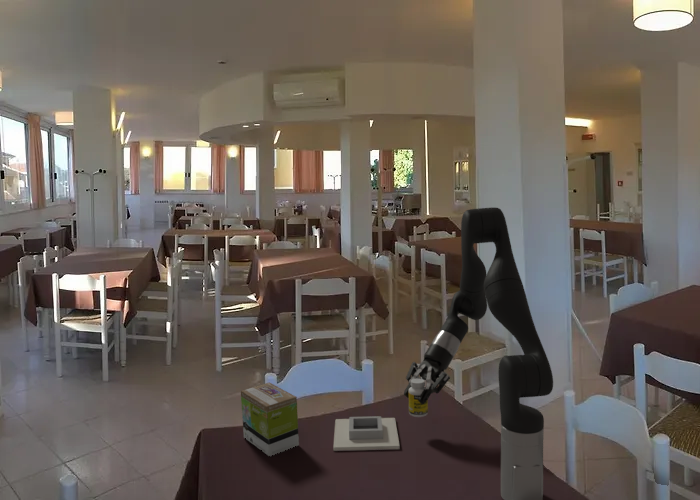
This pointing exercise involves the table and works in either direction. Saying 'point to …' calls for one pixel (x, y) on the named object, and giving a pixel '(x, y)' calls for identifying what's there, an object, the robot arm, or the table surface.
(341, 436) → the socket dock
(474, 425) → the table surface
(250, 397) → the tea box
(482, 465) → the table surface
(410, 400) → the supplement bottle
